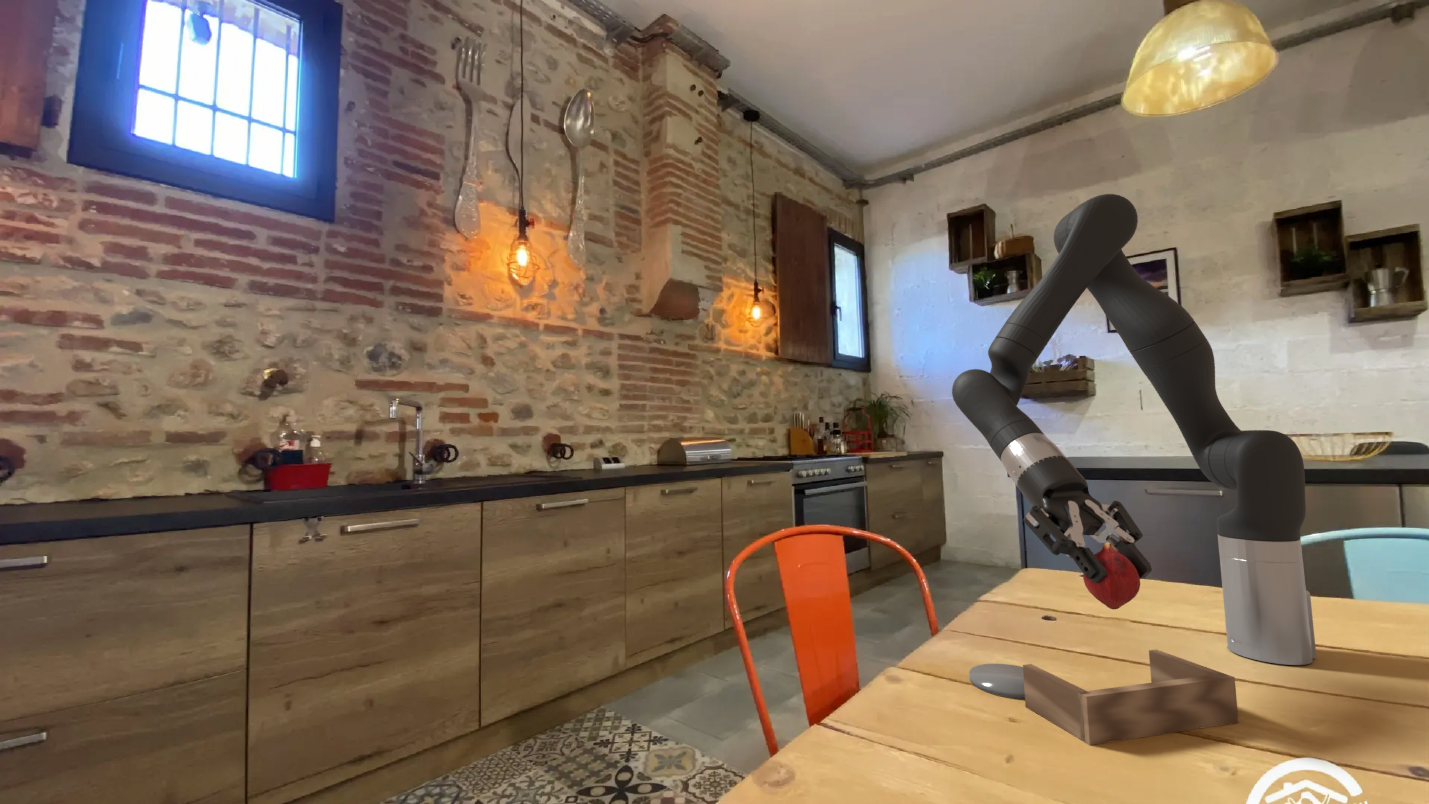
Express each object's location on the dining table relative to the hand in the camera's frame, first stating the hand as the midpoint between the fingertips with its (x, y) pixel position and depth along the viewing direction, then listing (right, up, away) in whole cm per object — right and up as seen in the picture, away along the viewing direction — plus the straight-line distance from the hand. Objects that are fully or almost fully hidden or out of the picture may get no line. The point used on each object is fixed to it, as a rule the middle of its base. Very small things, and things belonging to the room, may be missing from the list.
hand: (1123, 576), depth 70 cm
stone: (-9, -17, +9) cm, 21 cm away
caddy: (0, -16, 0) cm, 16 cm away
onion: (0, -5, +1) cm, 5 cm away
